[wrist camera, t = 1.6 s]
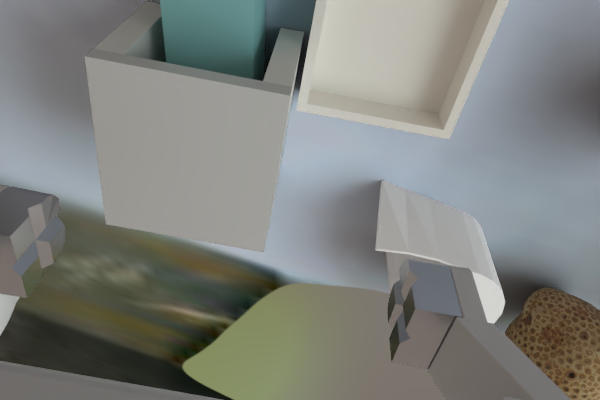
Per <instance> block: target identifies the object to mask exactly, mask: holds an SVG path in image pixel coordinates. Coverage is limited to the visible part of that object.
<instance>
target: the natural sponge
mask: <svg viewBox="0 0 600 400" xmlns="http://www.w3.org/2000/svg"><path fill="white" fill-rule="evenodd" d="M505 335H506V336H507V337H508V338H509V339H510V340H511V341H512V342H513V343H514V344H515V345H516V346H517V347H518V348H519V349H520V350H521V351H522V352H523V353H524V354H525V355H526V356H527V357H528V358H529V359H530V360H531V361H532V362H533V363H534V364H535V365H536V366H537V367H538V368H539V369H540V370H541V371H542V372H543V373H544V374H545V375H546V376H547V377H548V378H549V379H550V380H552V381H553V382H554V383H555V384H556V385H557V386H558V387H559V388H560V389H561V390H562V391H563V392H564V393H565V394H566V395H567V396H568V397H569V398H570V399H571V400H600V310H598V309H597V308H595V307H594V306H592V305H591V304H589V303H588V302H586V301H584V300H582V299H579V298H577V297H575V296H573V295H570V294H567V293H565V292H563V291H560V290H558V289H555V288H548V287H545V288H541V289H539V290H537V291H535V292H533V293H532V294H531V295H530V296H529V298H528V299H527V300H526V302H525V304H524V306H523V309H522V312H521V314H520V315H519V316H518V317H517V318H516V319H515V320H513V321H512V323H511V324H510V325H509V326H508V328H507V330H506V332H505Z"/></svg>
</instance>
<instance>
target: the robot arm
mask: <svg viewBox="0 0 600 400" xmlns="http://www.w3.org/2000/svg"><path fill="white" fill-rule="evenodd" d="M60 210H61V207H60V203H59V199H58V198H57V197H56V196H54V195H52V194H47V193H42V192H37V191H32V190H27V189H22V188H17V187H13V186H12V187H10V186H6V185H1V184H0V294H5V295H11V296H18V297H25V298H27V297H28V296H29V294H30V293H31V292H32V291H33V289H34V288H35V287H36V285H37V284H38V283H39V282H40V280H41V279H42V278H43V273H42V268H44V267H46V266H48V265H51V264H53V263H54V262H55V261H56V259H57V258H58V256H59V255H60V253H61V250H62V248H63V245H64V242H65V229H64V224H63V223H62V222H61V221H60V220H59V219H58V218H57V217H56V215H57V214H58V213H59V212H60ZM399 276H400V280H399V281H397V282H396V283H394V284H393V287H392V290H391V293H390V298H389V303H388V323H389V324H390V325H391V327H392V328H393V331H392V333H391V336H390V350H391V361H392V363H397V364H402V365H407V366H412V367H417V368H422V369H427V370H428V373H429V374H430V376H431V377H432V379H433V380H434V382H435V383H436V385H437V386H438V388H439V389H440V391H441V393H442V394H443V396H444V397H445V399H446V400H571V399H570V398H569V397H568V396H567V395H566V394H565V393H564V392H563V391H562V390H561V389H560V388H559V387H558V386H557V385H556V384H555V383H554V382H553V381H552V380H550V379H549V378H548V377H547V376H546V375H545V374H544V373H543V372H542V371H541V370H540V369H539V368H538V367H537V366H536V365H535V364H534V363H533V362H532V361H531V360H530V359H529V358H528V357H527V356H526V355H525V354H524V353H523V352H522V351H521V350H520V349H519V348H518V347H517V346H516V345H515V344H514V343H513V342H512V341H511V340H510V339H509V338H508V337H507V336H506V335H505V334H504V333H503V332H502V331H501V330H500V329H499V328H498V327H497V326H496V325H495V324H493V323H488V322H487V319H486V316H485V313H484V310H483V306H482V303H481V300H480V297H479V293H478V290H477V287H476V284H475V280H474V277H473V274H472V271H471V270H470V269H469V268H463V267H457V266H450V265H447V266H446V265H441V264H436V263H430V262H424V261H418V260H413V259H407V258H405V259H404V260H403V262H402V264H401V266H400V269H399ZM0 400H221V399H215V398H209V397H203V396H198V395H192V394H186V393H181V392H175V391H169V390H164V389H158V388H152V387H146V386H141V385H135V384H129V383H124V382H118V381H112V380H106V379H101V378H95V377H89V376H84V375H78V374H72V373H66V372H61V371H55V370H49V369H44V368H38V367H32V366H26V365H21V364H15V363H9V362H4V361H0Z"/></svg>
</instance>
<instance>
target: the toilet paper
mask: <svg viewBox="0 0 600 400" xmlns="http://www.w3.org/2000/svg"><path fill="white" fill-rule="evenodd" d="M375 251H384V252H386V257H387V268H388V279H389V291H390V293H391V290H392V287H393V284H394V283H396V282H397V281H399V280H400V276H399V269H400V266H401V264H402V262H403V260H404V259H405V258H407V259H413V260H418V261H424V262H430V263H436V264H441V265H446V266H447V265H450V266H457V267H463V268H469V269H470V270H471V271H472V274H473V277H474V280H475V284H476V287H477V290H478V293H479V297H480V300H481V303H482V306H483V310H484V313H485V316H486V319H487V322H488V323H493V324H494V323H495V322H496V321H497V319H498V318H499V317H500V316H501V315H502V313H503V309H504V306H505V299H504V295H503V291H502V288H501V285H500V282H499V279H498V276H497V273H496V270H495V267H494V264H493V261H492V258H491V255H490V252H489V249H488V246H487V243H486V240H485V237H484V234H483V231H482V228H481V226H480V225H479V223H478V222H477V221H476V220H475V219H474V217H472V216H470V215H469V214H467V213H465V212H463V211H462V210H459V209H456V208H454V207H451V206H449V205H446V204H443V203H441V202H438V201H436V200H433V199H431V198H428V197H425V196H423V195H420V194H418V193H415V192H412V191H410V190H407V189H405V188H402V187H399V186H397V185H394V184H392V183H389V182H386V181H384V180H382V181H381V186H380V198H379V210H378V222H377V235H376V247H375Z"/></svg>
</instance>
